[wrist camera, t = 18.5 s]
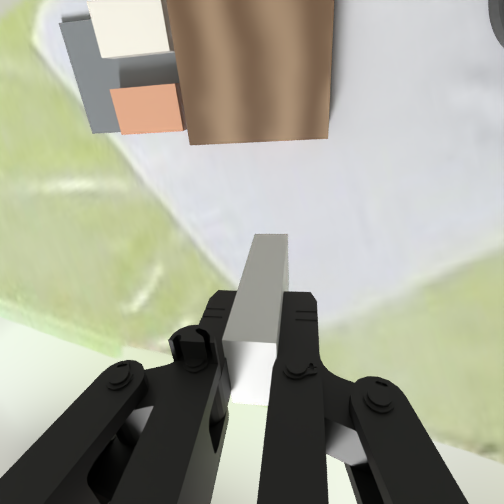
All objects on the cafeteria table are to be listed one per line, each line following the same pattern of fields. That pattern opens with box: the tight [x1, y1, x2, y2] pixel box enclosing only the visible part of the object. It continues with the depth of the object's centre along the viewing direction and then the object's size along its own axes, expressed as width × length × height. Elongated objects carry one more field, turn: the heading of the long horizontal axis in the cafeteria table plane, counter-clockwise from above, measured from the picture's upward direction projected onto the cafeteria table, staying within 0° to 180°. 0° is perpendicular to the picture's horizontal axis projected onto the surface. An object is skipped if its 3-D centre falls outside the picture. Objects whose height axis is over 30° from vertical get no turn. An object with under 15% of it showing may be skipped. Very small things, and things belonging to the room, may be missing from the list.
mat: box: [59, 19, 180, 134], centre depth 38 cm, size 14×12×1 cm
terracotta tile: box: [110, 83, 187, 135], centre depth 38 cm, size 8×5×2 cm, turn 95°
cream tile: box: [87, 0, 175, 59], centre depth 34 cm, size 8×5×2 cm, turn 95°
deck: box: [166, 0, 334, 145], centre depth 33 cm, size 16×16×4 cm
